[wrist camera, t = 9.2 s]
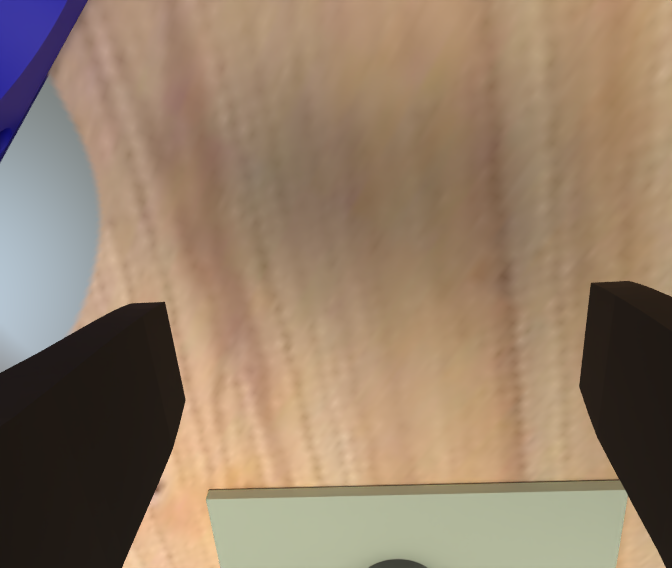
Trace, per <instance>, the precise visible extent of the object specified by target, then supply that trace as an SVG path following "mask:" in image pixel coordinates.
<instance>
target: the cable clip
mask: <svg viewBox="0 0 672 568" xmlns="http://www.w3.org/2000/svg"><path fill="white" fill-rule="evenodd" d="M87 1H88V0H0V162H1V161H2V159H3V157H4V155H5V154H6V152H7V150H8V148H9V146H10V144H11V143H12V141H13V139H14V137H15V135H16V134H17V132H18V130H19V128H20V126H21V125H22V123H23V121H24V119H25V117H26V116H27V114H28V112H29V110H30V108H31V106H32V105H33V103H34V101H35V99H36V98H37V96H38V94H39V92H40V90H41V88H42V87H43V85H44V83H45V81H46V79H47V78H48V76H49V75H48V71H49V70H50V68H51V66H52V64H53V62H54V61H55V59H56V57H57V55H58V53H59V51H60V50H61V48H62V46H63V44H64V42H65V41H66V39H67V37H68V35H69V33H70V32H71V30H72V28H73V26H74V24H75V23H76V21H77V19H78V17H79V15H80V13H81V12H82V10H83V8H84V6H85V4H86V3H87Z"/></svg>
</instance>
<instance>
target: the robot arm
mask: <svg viewBox="0 0 672 568" xmlns="http://www.w3.org/2000/svg"><path fill="white" fill-rule="evenodd" d="M579 387H580V390H581V393H582V396H583V399H584V402H585V405H586V408H587V411H588V414H589V417H590V419H591V422H592V425H593V427H594V430H595V433H596V435H597V438H598V440H599V442H600V443H601V445H602V447H603V449H604V451H605V453H606V455H607V457H608V459H609V461H610V463H611V465H612V466H613V468H614V470H615V472H616V474H617V476H618V478H619V480H620V481H621V483H622V485H623V487H624V489H625V491H626V493H627V494H628V496H629V498H630V500H631V502H632V504H633V506H634V507H635V509H636V511H637V513H638V515H639V517H640V519H641V520H642V522H643V524H644V526H645V528H646V530H647V532H648V533H649V535H650V537H651V539H652V541H653V543H654V545H655V546H656V548H657V550H658V552H659V554H660V556H661V558H662V560H663V562H664V564H665V566H666V568H672V297H671V296H669V295H666V294H664V293H661V292H659V291H657V290H654V289H652V288H649V287H647V286H644V285H641V284H638V283H634V282H631V281H620V282H598V283H591V287H590V296H589V305H588V313H587V322H586V331H585V340H584V349H583V358H582V367H581V376H580V384H579ZM184 404H185V395H184V390H183V385H182V381H181V376H180V371H179V366H178V362H177V357H176V352H175V347H174V343H173V338H172V333H171V328H170V324H169V319H168V314H167V309H166V305H165V302H154V303H132V304H128V305H126V306H123V307H121V308H118V309H116V310H114V311H112V312H110V313H108V314H106V315H105V316H103V317H101V318H99V319H97V320H95V321H94V322H92V323H90V324H88V325H86V326H85V327H83V328H81V329H79V330H78V331H76V332H74V333H72V334H71V335H69V336H67V337H65V338H64V339H62V340H60V341H58V342H56V343H55V344H53V345H51V346H50V347H48V348H46V349H44V350H42V351H41V352H39V353H37V354H35V355H33V356H31V357H30V358H28V359H26V360H24V361H22V362H20V363H18V364H16V365H14V366H13V367H11V368H9V369H7V370H5V371H3V372H1V373H0V568H122V567H123V564H124V561H125V559H126V557H127V554H128V552H129V550H130V548H131V545H132V543H133V541H134V538H135V536H136V534H137V531H138V529H139V527H140V525H141V522H142V520H143V518H144V515H145V513H146V511H147V508H148V506H149V504H150V501H151V499H152V497H153V495H154V492H155V490H156V488H157V485H158V483H159V481H160V478H161V476H162V473H163V471H164V469H165V466H166V464H167V462H168V459H169V457H170V454H171V452H172V449H173V446H174V443H175V439H176V436H177V432H178V428H179V425H180V420H181V416H182V412H183V408H184Z"/></svg>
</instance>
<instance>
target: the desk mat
mask: <svg viewBox="0 0 672 568" xmlns="http://www.w3.org/2000/svg"><path fill="white" fill-rule="evenodd" d="M627 498H628V494H627V493H626V491H625V489H624V487H623V485H622V483H621V481H620V480H615V481H573V482H531V483H489V484H446V485H404V486H362V487H320V488H278V489H235V490H209V491H208V495H207V498H206V502H207V507H208V511H209V516H210V521H211V526H212V530H213V535H214V540H215V545H216V549H217V554H218V559H219V564H220V568H369V567H370V566H372V565H374V564H376V563H378V562H381V561H385V560H390V559H405V560H411V561H415V562H417V563H420V564H422V565H424V566H426V567H427V568H616V564H617V558H618V552H619V546H620V540H621V534H622V528H623V522H624V516H625V510H626V504H627Z"/></svg>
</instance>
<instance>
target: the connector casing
mask: <svg viewBox="0 0 672 568" xmlns="http://www.w3.org/2000/svg"><path fill="white" fill-rule="evenodd" d="M369 568H427V567H426V566H424V565H422V564H420V563H417V562H415V561H411V560H405V559H390V560H385V561H381V562H378V563H376V564H374V565H372V566H370V567H369Z"/></svg>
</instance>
